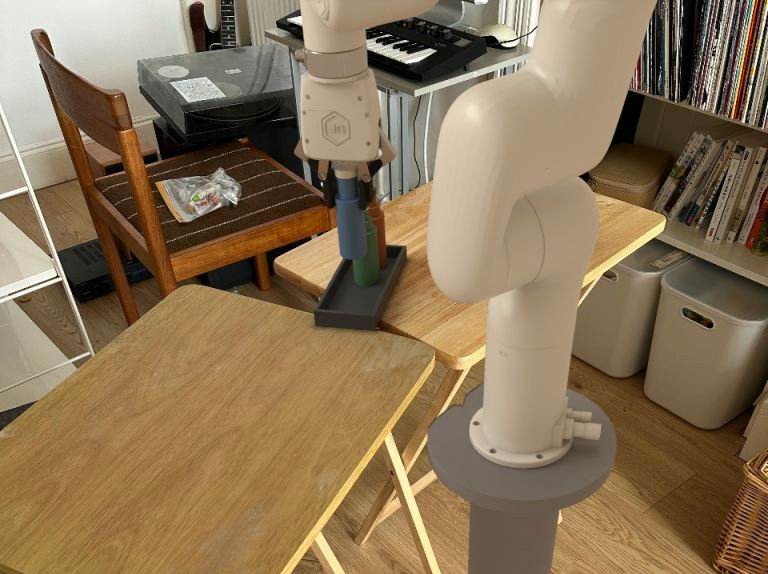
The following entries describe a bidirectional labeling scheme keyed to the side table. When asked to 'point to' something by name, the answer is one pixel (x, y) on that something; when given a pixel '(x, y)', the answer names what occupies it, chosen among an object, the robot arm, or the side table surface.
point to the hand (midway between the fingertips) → (349, 204)
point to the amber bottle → (379, 229)
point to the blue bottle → (349, 213)
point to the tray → (359, 294)
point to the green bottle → (368, 257)
